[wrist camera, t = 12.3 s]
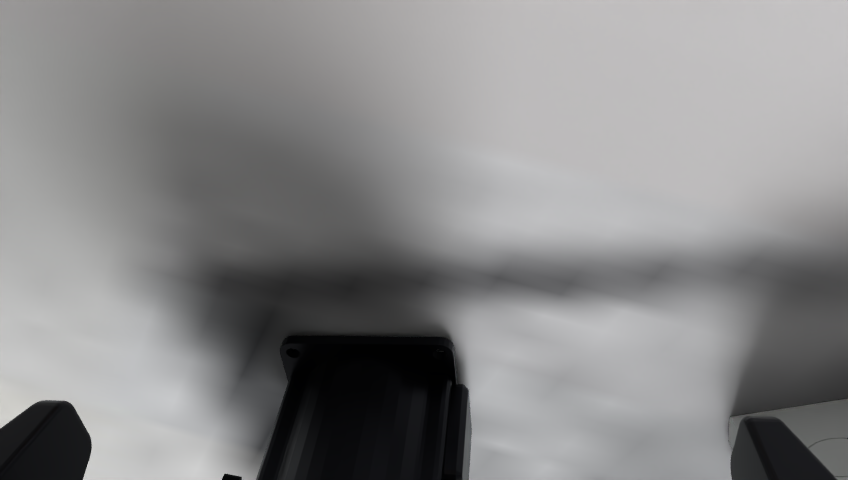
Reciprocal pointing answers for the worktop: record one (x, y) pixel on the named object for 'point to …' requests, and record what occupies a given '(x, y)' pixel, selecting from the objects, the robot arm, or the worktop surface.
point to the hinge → (814, 431)
